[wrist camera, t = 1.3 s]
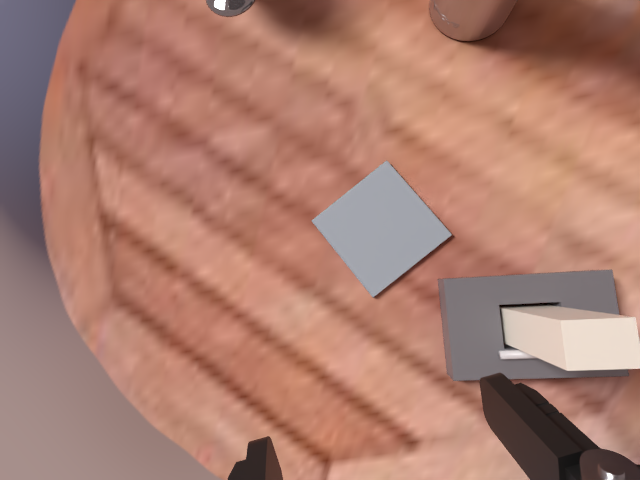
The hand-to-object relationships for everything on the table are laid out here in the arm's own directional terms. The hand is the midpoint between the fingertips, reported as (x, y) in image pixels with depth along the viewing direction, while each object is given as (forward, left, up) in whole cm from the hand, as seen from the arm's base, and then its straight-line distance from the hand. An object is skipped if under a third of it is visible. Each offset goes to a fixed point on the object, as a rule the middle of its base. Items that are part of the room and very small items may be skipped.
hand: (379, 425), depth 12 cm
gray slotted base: (-13, +10, -25) cm, 30 cm away
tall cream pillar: (-13, +10, -25) cm, 30 cm away
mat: (-8, -7, -25) cm, 28 cm away
